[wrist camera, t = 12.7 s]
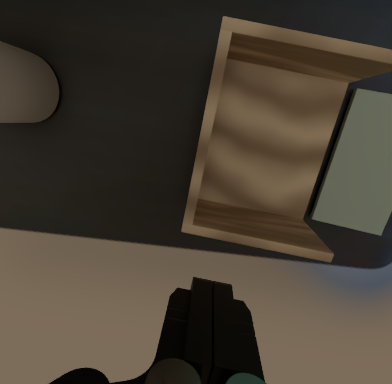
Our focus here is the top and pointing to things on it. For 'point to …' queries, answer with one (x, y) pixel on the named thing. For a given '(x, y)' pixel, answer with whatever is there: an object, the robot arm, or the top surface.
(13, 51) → the alcohol
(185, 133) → the top surface
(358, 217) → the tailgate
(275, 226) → the crate
